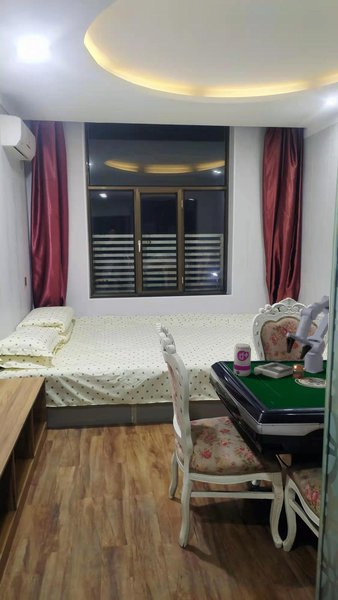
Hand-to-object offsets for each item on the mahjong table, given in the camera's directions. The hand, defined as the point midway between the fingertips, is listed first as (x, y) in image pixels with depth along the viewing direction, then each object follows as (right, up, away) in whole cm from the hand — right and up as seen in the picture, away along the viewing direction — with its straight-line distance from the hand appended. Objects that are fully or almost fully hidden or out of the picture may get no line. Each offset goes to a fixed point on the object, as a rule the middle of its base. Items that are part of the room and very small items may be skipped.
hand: (294, 355), depth 207 cm
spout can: (+3, -11, +3) cm, 12 cm away
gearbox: (-9, -10, +9) cm, 16 cm away
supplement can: (-25, -10, +7) cm, 28 cm away
